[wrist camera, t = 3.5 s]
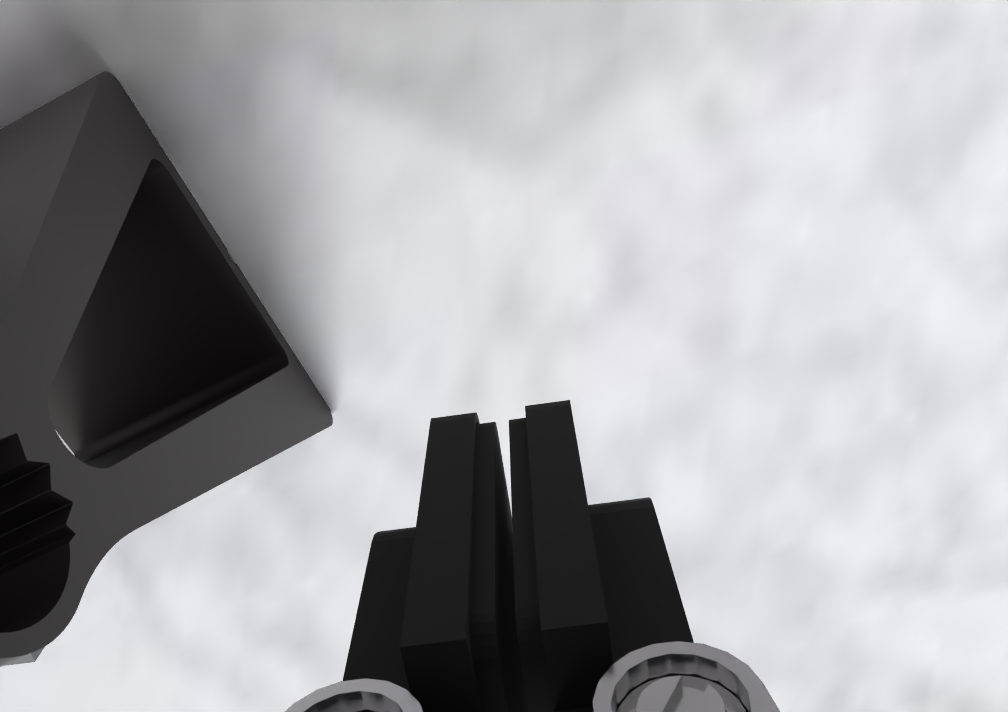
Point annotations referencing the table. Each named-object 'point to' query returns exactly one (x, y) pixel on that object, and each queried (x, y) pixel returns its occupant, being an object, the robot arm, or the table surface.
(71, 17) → the table surface
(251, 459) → the phone stand
